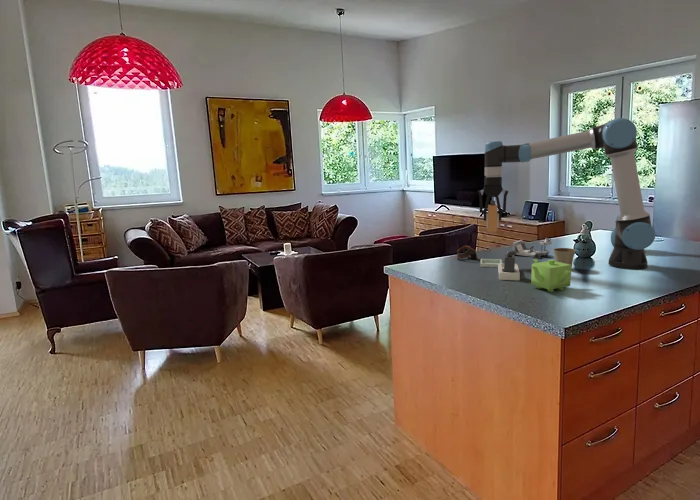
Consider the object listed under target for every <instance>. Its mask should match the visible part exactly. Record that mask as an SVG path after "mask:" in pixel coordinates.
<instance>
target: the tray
mask: <svg viewBox="0 0 700 500" xmlns="http://www.w3.org/2000/svg"><path fill="white" fill-rule="evenodd" d="M498 263H503V260H502V259H501V258H498V259H495V258H480V263H479V265H480V268H498Z"/></svg>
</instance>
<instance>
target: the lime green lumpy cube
mask: <svg viewBox="0 0 700 500" xmlns="http://www.w3.org/2000/svg"><path fill="white" fill-rule="evenodd" d="M532 261H534V262H532V263H531V266H530V268H531V278H530V279H531V281H530V285H533V286H535V288H536V289H539V290H540V289H545V290H546V291H547V292H548V293H554V290H556V289H558V290H559V291H565V288H567V287H571V281H572V268H571V265H570V264H565V263H561V262H557V261H555V259H548V260H547V261H541V262H540V261H539V259H536V258H532Z"/></svg>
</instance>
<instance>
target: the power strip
mask: <svg viewBox="0 0 700 500" xmlns="http://www.w3.org/2000/svg"><path fill="white" fill-rule="evenodd" d="M511 251H512V250H511ZM511 251H510V250H508V251H507V252H506V254H505V255H504V256H503V262H502V263H498V267H497V269H498V270H497V271H498V280H499V281H503V280H504V281H520V279H521V277H520V276H521V275H520V274H521V273H520V269H519V265H518V263H516V256H514V255H512V252H511Z"/></svg>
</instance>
